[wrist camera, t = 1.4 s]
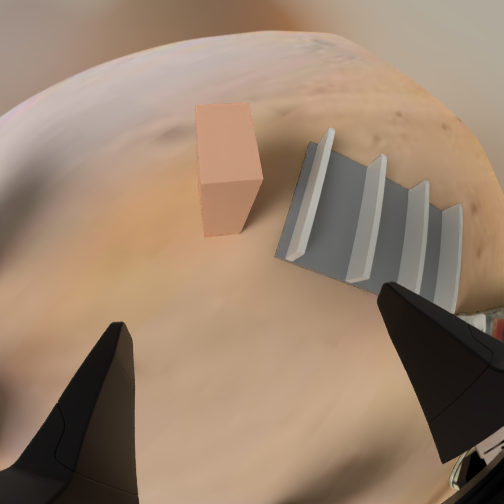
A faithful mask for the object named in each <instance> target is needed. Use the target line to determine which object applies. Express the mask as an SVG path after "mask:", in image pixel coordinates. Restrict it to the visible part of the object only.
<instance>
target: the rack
mask: <svg viewBox="0 0 504 504" xmlns="http://www.w3.org/2000/svg"><path fill="white" fill-rule="evenodd" d="M334 135H335V130H334V129H332V128H330V127H329V129H328V130H327V132H326V133H325V135H324V136H323V138H322V139H321V141H320V142H319V144H316V143H314V142H311V141H310V143H309V145H308V148H307V152H306V155H305V158H304V162H303V165H302V169H301V172H300V175H299V179H298V182H297V185H296V189H295V192H294V195H293V199H292V202H291V205H290V208H289V212H288V215H287V218H286V221H285V224H284V228H283V231H282V234H281V237H280V240H279V244H278V247H277V250H276V253H275V256H274V257H276V258H279V259H281V260H284V261H287V262H289V263H292V264H295V265H298V266H300V267H303V268H306V269H309V270H311V271H314V272H317V273H320V274H322V275H325V276H328V277H330V278H333V279H336V280H339V281H341V282H344V283H347V284H350V285H352V286H355V287H358V288H360V289H363V290H366V291H369V292H371V293H374V294H377V295H379V293H380V290H381V288H382V285H383V284H384V283H386V282H390V281H394V282H396V283H398V284H400V285H402V286H403V287H405V288H407V289H409V290H411V291H413V292H414V293H416V294H418V295H420V296H422V297H423V298H425V299H427V300H429V301H431V302H432V303H434V304H436V305H438V306H440V307H441V308H443V309H445V310H447V311H448V312H450V313H455V309H456V302H457V295H458V288H459V279H460V268H461V255H462V229H463V213H462V205H461V204H460V203H458V204H456V205H454V206H452V207H450V208H448V209H446V210H444V211H441V210H440V209H438V208H437V207H435V206H433V205H432V204H430V203H429V183H430V182H428V181H427V180H424V181H422V182H421V183H419V184H418V185H416V186H415V187H413V188H412V189H410V190H407V189H406V188H404V187H402V186H400V185H399V184H397V183H395V182H393V181H391V180H390V179H388V178H386V166H387V156H386V155H384V154H381V155H380V156H379V157H378V158H377V159H376V160H375V161H374V162H373V163H372V164H370V165H369V166H368V167H365V166H363V165H361V164H359V163H357V162H355V161H353V160H351V159H349V158H347V157H345V156H343V155H340V154H338V153H336V152H334V151H332V150H331V148H332V144H333V139H334Z"/></svg>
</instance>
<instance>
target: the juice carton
mask: <svg viewBox="0 0 504 504" xmlns="http://www.w3.org/2000/svg"><path fill="white" fill-rule="evenodd" d="M455 316H457V317H459V318H460V319H462V320H464V321H466V323H469V324H471V325H472V326H474V327H476V328H478V329H479V330H481V331H483V332H485V333H487V334H489V335H490V336H492V337H494V338H496V339H498V340H500V341H502V342H504V306H499V307H497V308H491V309H490V310H489V309H487V311H483V312H479V311H477V312H476V313H473V314H467V313H466V312H462V313H459V314H456V315H455Z"/></svg>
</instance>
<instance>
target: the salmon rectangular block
mask: <svg viewBox="0 0 504 504" xmlns="http://www.w3.org/2000/svg"><path fill="white" fill-rule="evenodd" d="M195 113H196V143H197V165H198V182H199V194H200V205H201V216H202V226H203V235H204V237H213V236H222V235H232V234H240V233H241V231H242V229H243V226H244V224H245V221H246V219H247V217H248V214H249V212H250V210H251V207H252V205H253V203H254V200H255V198H256V195H257V193H258V191H259V188H260V186H261V184H262V182H263V174H262V169H261V163H260V158H259V152H258V147H257V142H256V136H255V131H254V126H253V121H252V116H251V111H250V106H249V103H229V104H209V105H196V106H195Z"/></svg>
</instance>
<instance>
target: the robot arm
mask: <svg viewBox="0 0 504 504" xmlns="http://www.w3.org/2000/svg"><path fill="white" fill-rule="evenodd" d="M377 304H378V307H379V310H380V312H381V315H382V317H383V320H384V323H385V325H386V328H387V331H388V333H389V336H390V338H391V340H392V342H393V345H394V347H395V349H396V351H397V353H398V355H399V357H400V359H401V361H402V364H403V366H404V368H405V370H406V372H407V375H408V377H409V379H410V381H411V384H412V386H413V388H414V390H415V393H416V395H417V398H418V400H419V402H420V405H421V407H422V410H423V412H424V415H425V417H426V420H427V422H428V425H429V428H430V431H431V433H432V436H433V439H434V442H435V444H436V447H437V450H438V453H439V456H440V459H441V462H442V464H444V463H446V462H448V461H450V460H452V459H454V458H456V457H457V456H459V455H461V454H463V453H464V452H466V451H468V450H469V449H471V448H473V447H475V449H474V450H472V451H471V452H470V453H469V454H468V455H467V456H465V457H464V458H463V460H462V464H461V468H460V472H459V475H458V479H457V482H456V483H457V485H458V487H459V491H457V492H456V493H455V494H453V495H452V496H451V497H450V498H448V499H447V500H446V501H444V502H443V503H442V504H504V342H502V341H500V340H498V339H496V338H494V337H492V336H490V335H489V334H487V333H485V332H483V331H481V330H479V329H478V328H476V327H474V326H472V325H471V324H469V323H466V321H464V320H462V319H460V318H459V317H457V316H455V315H454V314H452V313H450V312H448V311H447V310H445V309H443V308H441V307H440V306H438V305H436V304H434V303H432V302H431V301H429V300H427V299H425V298H423V297H422V296H420V295H418V294H416V293H414V292H413V291H411V290H409V289H407V288H405V287H403V286H402V285H400V284H398V283H396V282H394V281H390V282H386V283H384V284H383V285H382V288H381V290H380V293H379V296H378V298H377ZM0 504H139V497H138V488H137V476H136V460H135V375H134V359H133V341H132V338H131V335H130V333H129V331H128V329H127V327H126V325H125V323H124V322H112V323H111V324H110V325H109V327H108V328H107V329H106V331H105V332H104V333H103V335H102V336H101V338H100V339H99V340H98V342H97V343H96V345H95V346H94V347H93V349H92V350H91V352H90V353H89V355H88V356H87V357H86V359H85V360H84V362H83V363H82V365H81V366H80V368H79V369H78V371H77V372H76V374H75V375H74V377H73V378H72V380H71V381H70V383H69V384H68V386H67V387H66V389H65V390H64V392H63V394H62V395H61V397H60V398H59V400H58V403H56V405H55V406H54V408H53V409H52V411H51V413H50V414H49V416H48V417H47V419H46V420H45V422H44V424H43V425H42V426H41V428H40V429H39V431H38V432H37V434H36V435H35V436H34V438H33V439H32V440H31V442H30V443H29V445H28V446H27V447H26V449H25V450H24V452H23V453H22V454H21V456H20V457H19V459H18V460H17V461H16V462H15V463H14V464H13V465H11V466H10V467H9V468H7V469H4V470H2V471H0Z"/></svg>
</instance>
